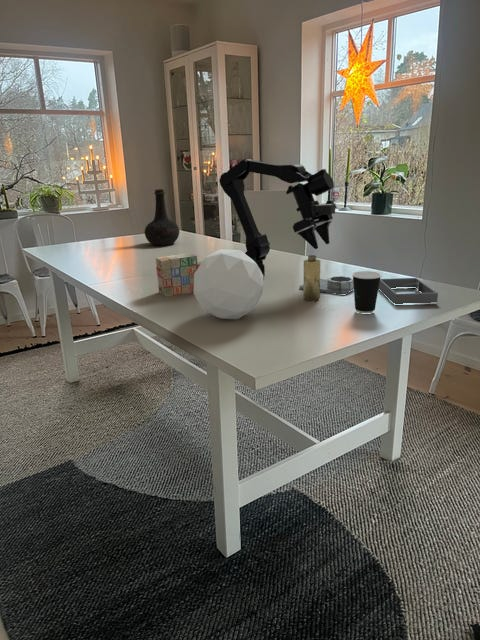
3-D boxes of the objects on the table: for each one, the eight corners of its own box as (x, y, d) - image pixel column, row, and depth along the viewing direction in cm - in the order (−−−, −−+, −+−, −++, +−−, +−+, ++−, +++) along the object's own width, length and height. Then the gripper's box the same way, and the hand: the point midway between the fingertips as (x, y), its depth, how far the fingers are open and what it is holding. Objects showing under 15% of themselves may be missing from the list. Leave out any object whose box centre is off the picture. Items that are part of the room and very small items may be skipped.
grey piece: (299, 289, 161) (299, 278, 160) (315, 281, 170) (315, 271, 169) (344, 295, 152) (344, 284, 151) (359, 286, 162) (359, 276, 160)
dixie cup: (344, 312, 136) (346, 274, 133) (360, 306, 141) (362, 269, 138) (369, 318, 131) (371, 279, 127) (384, 311, 136) (387, 273, 132)
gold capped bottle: (304, 301, 148) (304, 258, 143) (302, 297, 152) (302, 254, 148) (320, 301, 148) (321, 257, 143) (318, 296, 152) (319, 254, 148)
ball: (215, 343, 136) (167, 292, 129) (238, 300, 150) (196, 252, 143) (265, 321, 124) (215, 263, 117) (285, 277, 138) (242, 223, 131)
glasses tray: (394, 305, 140) (395, 294, 139) (378, 289, 158) (378, 279, 156) (436, 304, 140) (438, 293, 139) (415, 288, 157) (416, 277, 156)
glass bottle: (141, 247, 247) (135, 191, 237) (152, 241, 263) (147, 188, 254) (174, 247, 244) (170, 190, 235) (184, 241, 260) (180, 187, 251)
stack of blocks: (216, 283, 172) (214, 249, 168) (223, 287, 167) (221, 252, 163) (158, 292, 163) (155, 256, 159) (164, 297, 158) (161, 260, 154)
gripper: (314, 194, 146) (332, 242, 147) (337, 189, 161) (354, 233, 162) (284, 208, 153) (302, 254, 154) (309, 202, 168) (325, 244, 169)
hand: (322, 246), depth 160 cm, fingers open, 9 cm apart
